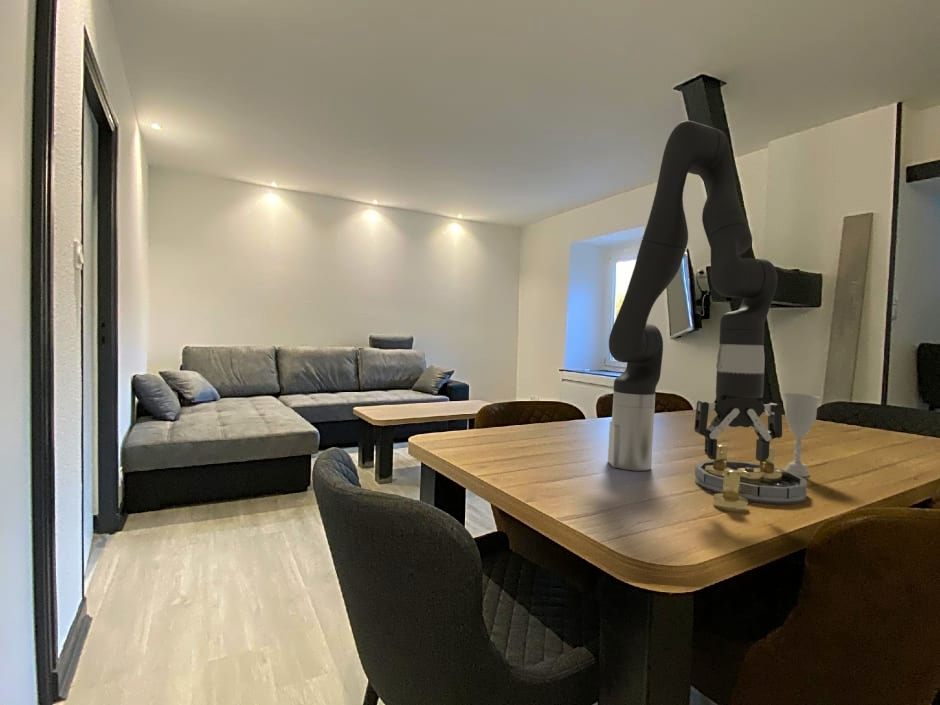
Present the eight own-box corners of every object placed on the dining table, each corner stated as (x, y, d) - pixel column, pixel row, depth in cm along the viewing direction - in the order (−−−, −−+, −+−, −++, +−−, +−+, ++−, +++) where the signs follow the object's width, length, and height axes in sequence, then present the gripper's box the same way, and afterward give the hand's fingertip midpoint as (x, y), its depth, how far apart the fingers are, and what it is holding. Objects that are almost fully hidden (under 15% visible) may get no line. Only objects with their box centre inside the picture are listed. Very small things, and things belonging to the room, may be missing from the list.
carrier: (717, 500, 95) (720, 459, 95) (681, 471, 115) (683, 437, 114) (829, 507, 93) (832, 465, 93) (773, 476, 113) (776, 441, 113)
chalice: (771, 468, 120) (776, 393, 119) (798, 468, 121) (804, 393, 120) (794, 477, 113) (799, 397, 112) (822, 478, 113) (828, 398, 112)
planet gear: (720, 511, 89) (722, 474, 89) (708, 500, 95) (710, 466, 95) (753, 513, 89) (755, 476, 89) (739, 502, 94) (741, 467, 94)
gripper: (707, 370, 88) (703, 463, 88) (793, 372, 87) (789, 466, 87) (691, 367, 95) (688, 453, 95) (770, 369, 94) (766, 456, 95)
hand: (736, 459), depth 91 cm, fingers open, 8 cm apart
